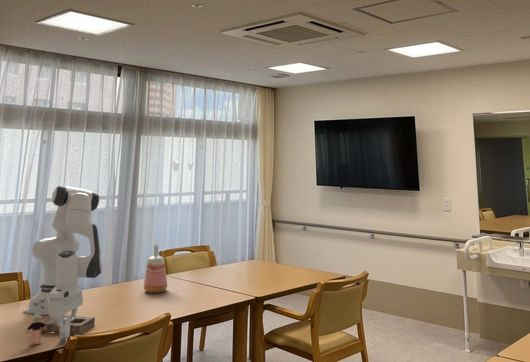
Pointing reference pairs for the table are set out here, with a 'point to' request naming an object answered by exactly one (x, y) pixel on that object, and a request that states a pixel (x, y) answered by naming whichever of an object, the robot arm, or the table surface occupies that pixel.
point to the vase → (155, 273)
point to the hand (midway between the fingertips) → (66, 322)
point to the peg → (64, 330)
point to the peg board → (76, 325)
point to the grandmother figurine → (36, 329)
